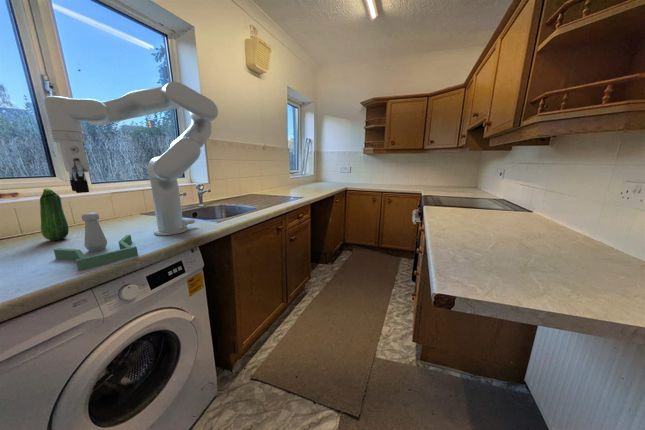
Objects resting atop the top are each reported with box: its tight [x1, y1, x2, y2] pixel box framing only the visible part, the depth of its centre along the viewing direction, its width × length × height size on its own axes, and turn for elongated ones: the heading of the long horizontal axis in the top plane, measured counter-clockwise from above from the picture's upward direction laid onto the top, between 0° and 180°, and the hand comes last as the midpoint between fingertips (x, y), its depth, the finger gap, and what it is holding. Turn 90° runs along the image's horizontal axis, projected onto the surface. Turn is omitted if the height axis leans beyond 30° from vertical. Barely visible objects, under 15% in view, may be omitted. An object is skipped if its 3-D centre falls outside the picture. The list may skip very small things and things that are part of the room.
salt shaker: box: [81, 212, 108, 253], centre depth 84 cm, size 6×6×13 cm
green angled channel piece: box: [53, 234, 139, 271], centre depth 80 cm, size 20×18×3 cm
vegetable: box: [39, 188, 70, 241], centre depth 93 cm, size 7×7×20 cm
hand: (80, 191), depth 85 cm, fingers open, 6 cm apart
